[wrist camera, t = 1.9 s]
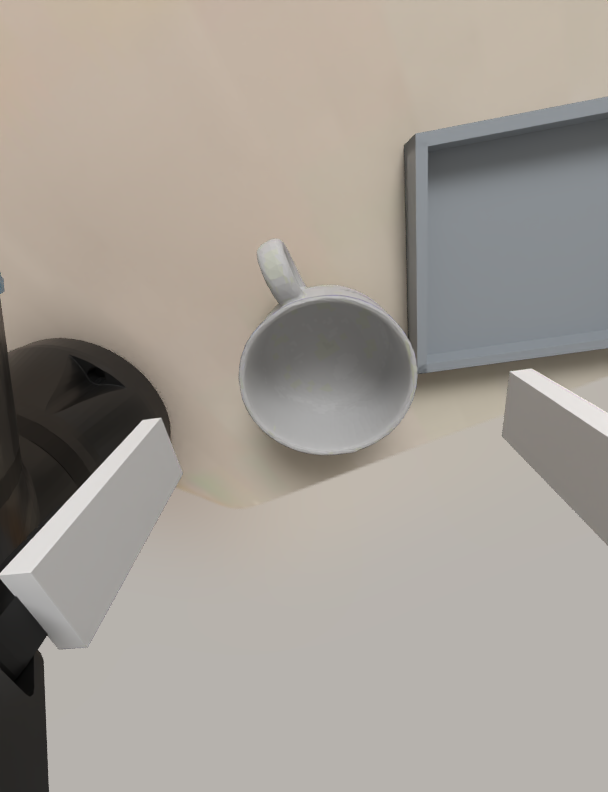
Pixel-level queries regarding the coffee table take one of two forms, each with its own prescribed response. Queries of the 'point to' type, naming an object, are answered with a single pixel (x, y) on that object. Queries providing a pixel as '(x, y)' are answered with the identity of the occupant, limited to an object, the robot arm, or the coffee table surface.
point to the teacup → (324, 364)
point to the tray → (508, 237)
